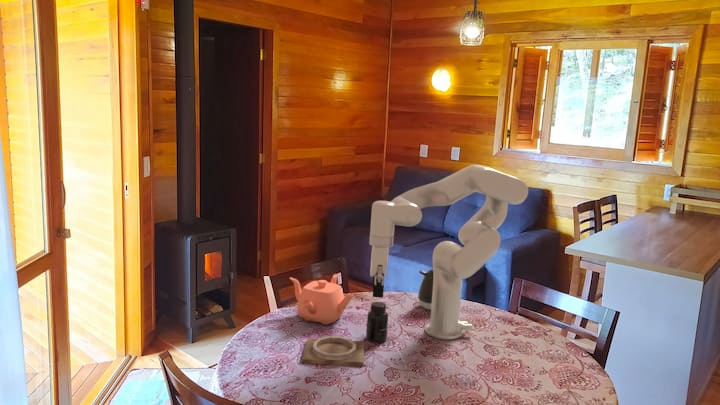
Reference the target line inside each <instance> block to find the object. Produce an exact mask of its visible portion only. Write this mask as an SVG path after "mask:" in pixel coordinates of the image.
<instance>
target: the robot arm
mask: <svg viewBox="0 0 720 405" xmlns="http://www.w3.org/2000/svg"><path fill="white" fill-rule="evenodd" d="M474 193H479V194H482V195H485V196H486V197H485V201H484V204H483V205H482V206H481V208H480V209H479V210H478V211H477V212H476V213H475V214H474V215H473V216H472V217H471V218H470V219H469V220H467V222H465V224H463V225H462V226H461V228H459V230H458V234H457V238H458V240H459V243H461V244H462V245H463V246H462V245H460V244H458V243H456V242H453V241H452V240H451V241H450V240H443V241H441V242H439V243H438V244H437V245H436V246H435V247H434V249H433V252H432V267H433V268H432V269H433V272H434V276H433V291H432V304H431V310H430V320H429V321H430V322H428V323H427V324H425V327H424V331H425V333H426V334H427V335H429V336H431V337H432V338H435V339H439V340H456V339H459V338H460V337H462V335H463V331H464V330H467V331H473V324H472V323H468V321H461V320H460V309H461V298H462V296H461V295H462V286H463V280H464V279H467V278H470V277H472V276H473V275H475V273H476V272H478V271H479V270H480V269H481V268H482V267H483V266H484V265H485V264H486V263H487V262H488V261H489V260H490V259H491V258H493V256H495V255H496V253H497V252H498V250H499V248H500V246H501V242H502V241H501V234H500V233H499V231H498V230H497V229H499V228H500V226H501V225H502V224H503V223H504V222H505V221H506V218H507V215H508V206H509V205H520V204H522V203H523V202H525V200H526V199H527V198H528V196H529V187H528V185H527V183H526V182H525V181H524V179H520V178H518V177H515V176H512V175H510V174H506V173H503V172H501V171H499V170H495V169H493V168H490V167H487V166H484V165H479V164H471V165H469V166H468V165H467V166H466V167H464V168H462V169H460V170H458V171H455V172H454V173H451V174H450V175H448V176H446V177H444V178H442V179H440V180H438V181H435V182H432V183H428V184H424V185H421V186H418V187H415V188H412V189H409V190H407V191H405V192H403V193H402V194H400V195H399V194H398V195H397V196H396V197H394V198H393V199H392V200H390V201H388V200H376V201H374V202H373V203H372V204H371V215H370V216H371V217H370V230H369V231H370V232H369V245H370V246H372V247H371V257H370V268H369V269H370V270H369V272H370V273H369V274H370V275H369V276H370V277H371V278H372V287H373V288H372V297H373V298H380V299H381V298H384V290H385V289H384V287H385V285H384V278H386V276H387V270H388V263H389V254H390V252H389V251H390V248H392V247H393V246H394V240H395V239H394V237H395V236H394V235H395V226H401V227H410V228H411V227H415V226H416V225H418V224H420V222H421V221H422V219H423V213H422V210H421V209H424V208H429V207H445V206H450V205H453V204H454V203H456V202H458V201H460V200H462V199H464V198H465V197H468V196H470V195H471V194H474Z"/></svg>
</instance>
